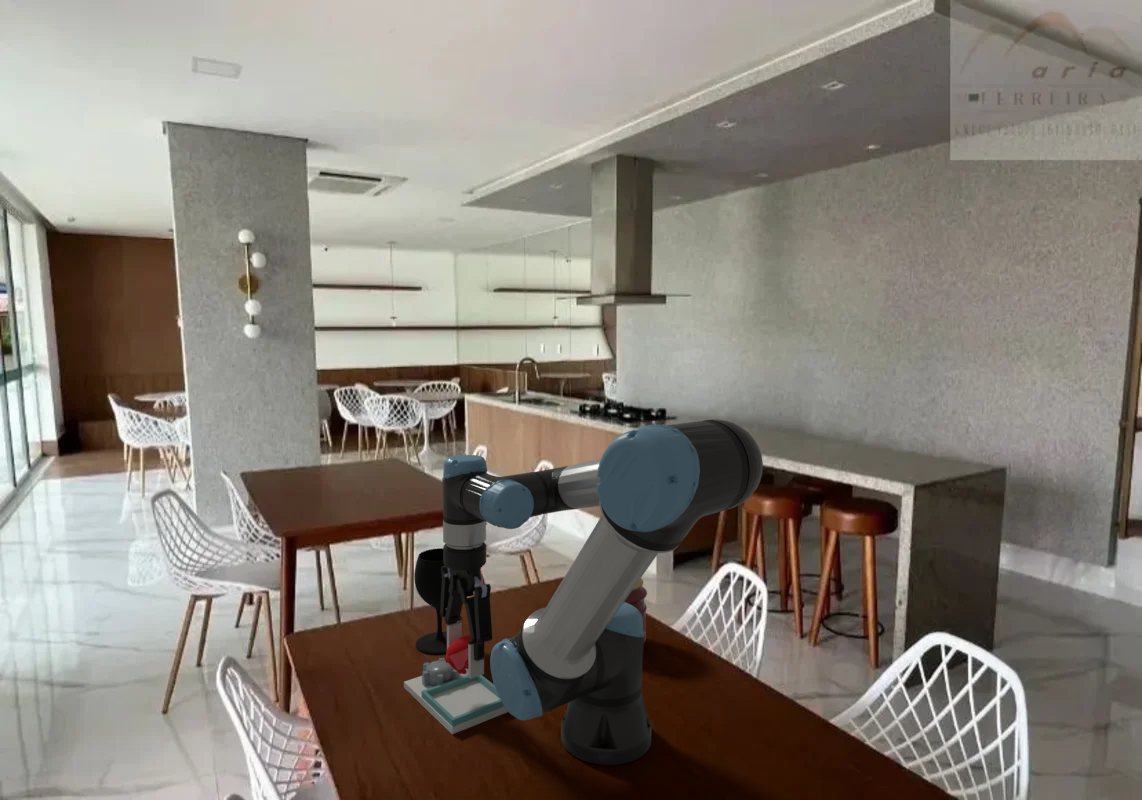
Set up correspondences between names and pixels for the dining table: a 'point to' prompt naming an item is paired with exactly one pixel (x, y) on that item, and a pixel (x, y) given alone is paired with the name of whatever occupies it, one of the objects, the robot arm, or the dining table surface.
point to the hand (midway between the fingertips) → (465, 666)
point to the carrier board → (455, 696)
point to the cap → (459, 654)
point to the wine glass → (431, 598)
